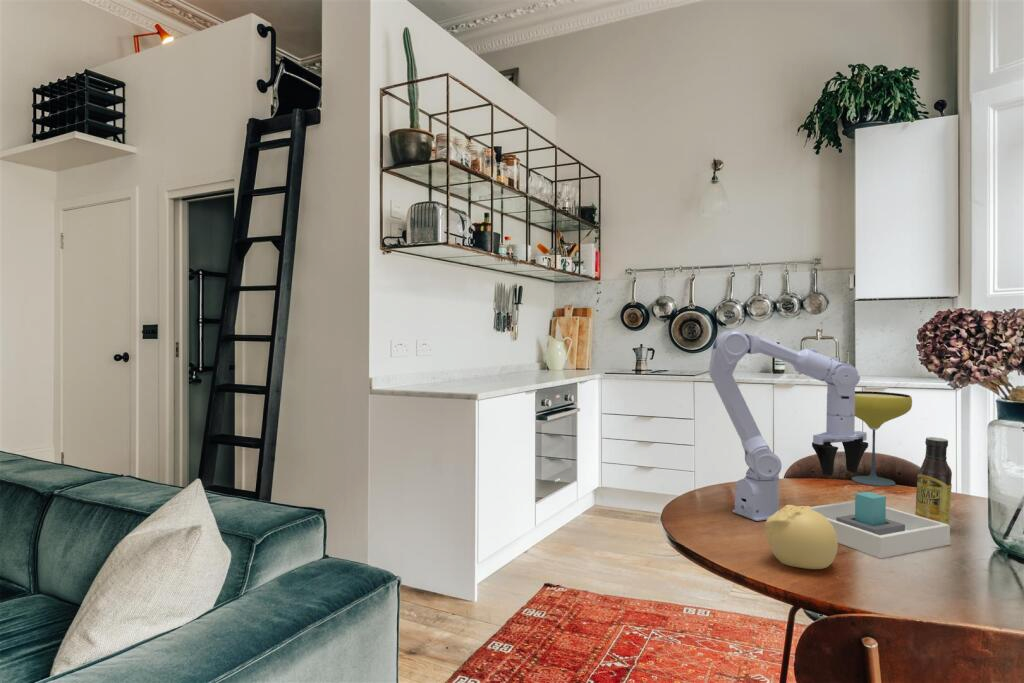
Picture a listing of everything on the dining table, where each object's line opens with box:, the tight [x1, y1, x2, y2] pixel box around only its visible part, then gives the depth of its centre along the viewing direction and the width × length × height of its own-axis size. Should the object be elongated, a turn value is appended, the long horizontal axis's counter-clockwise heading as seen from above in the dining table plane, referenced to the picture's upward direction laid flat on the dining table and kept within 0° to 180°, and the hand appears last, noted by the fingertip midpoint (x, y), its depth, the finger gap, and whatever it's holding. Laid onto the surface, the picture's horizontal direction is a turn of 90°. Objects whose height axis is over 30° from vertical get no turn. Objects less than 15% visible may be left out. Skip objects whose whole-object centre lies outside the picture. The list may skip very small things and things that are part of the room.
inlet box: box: [810, 499, 951, 559], centre depth 130 cm, size 20×20×4 cm
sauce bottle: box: [914, 436, 953, 525], centre depth 134 cm, size 7×6×20 cm
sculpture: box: [764, 504, 839, 570], centre depth 115 cm, size 11×12×11 cm
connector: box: [854, 491, 887, 526], centre depth 130 cm, size 4×4×8 cm
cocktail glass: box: [851, 390, 913, 487], centre depth 176 cm, size 18×18×25 cm
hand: (839, 473), depth 142 cm, fingers open, 7 cm apart
